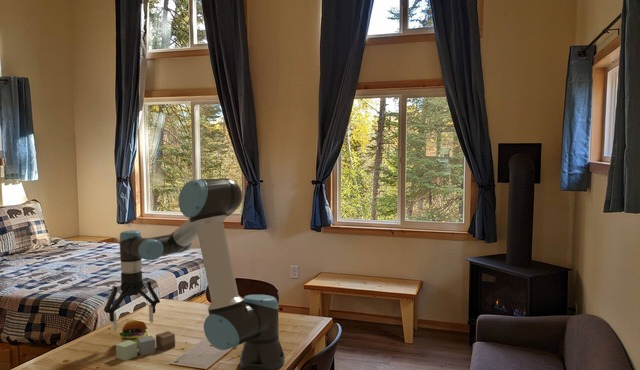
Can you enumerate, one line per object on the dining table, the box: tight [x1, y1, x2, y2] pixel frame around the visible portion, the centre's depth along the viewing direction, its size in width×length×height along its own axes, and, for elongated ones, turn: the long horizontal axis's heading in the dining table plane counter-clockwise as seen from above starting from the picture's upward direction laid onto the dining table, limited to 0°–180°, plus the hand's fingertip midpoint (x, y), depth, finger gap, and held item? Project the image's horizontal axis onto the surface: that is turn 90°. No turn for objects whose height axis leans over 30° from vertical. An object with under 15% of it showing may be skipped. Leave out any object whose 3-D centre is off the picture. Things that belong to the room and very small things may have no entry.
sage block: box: [115, 340, 138, 362], centre depth 172 cm, size 5×5×5 cm
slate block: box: [137, 335, 156, 356], centre depth 177 cm, size 5×5×5 cm
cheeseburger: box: [119, 320, 149, 348], centre depth 186 cm, size 10×11×10 cm
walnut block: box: [155, 330, 176, 352], centre depth 181 cm, size 5×5×5 cm
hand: (133, 325), depth 186 cm, fingers open, 13 cm apart
